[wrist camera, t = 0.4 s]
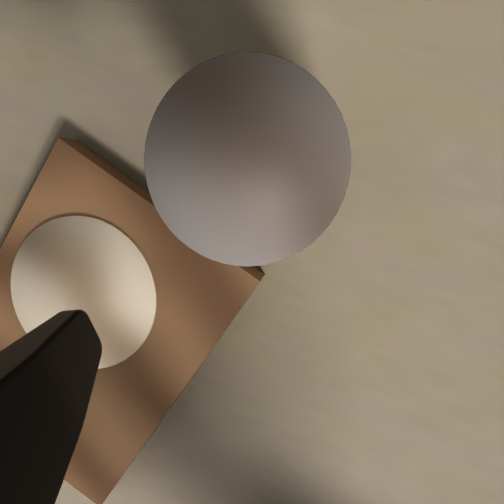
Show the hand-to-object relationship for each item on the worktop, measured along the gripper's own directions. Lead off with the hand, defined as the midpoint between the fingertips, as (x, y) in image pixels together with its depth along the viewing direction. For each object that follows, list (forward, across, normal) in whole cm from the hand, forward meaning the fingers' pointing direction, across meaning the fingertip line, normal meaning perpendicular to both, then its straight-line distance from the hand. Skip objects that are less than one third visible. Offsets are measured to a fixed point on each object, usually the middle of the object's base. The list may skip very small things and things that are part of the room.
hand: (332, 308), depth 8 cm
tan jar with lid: (+15, +2, +3) cm, 15 cm away
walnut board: (+12, +14, +10) cm, 20 cm away
